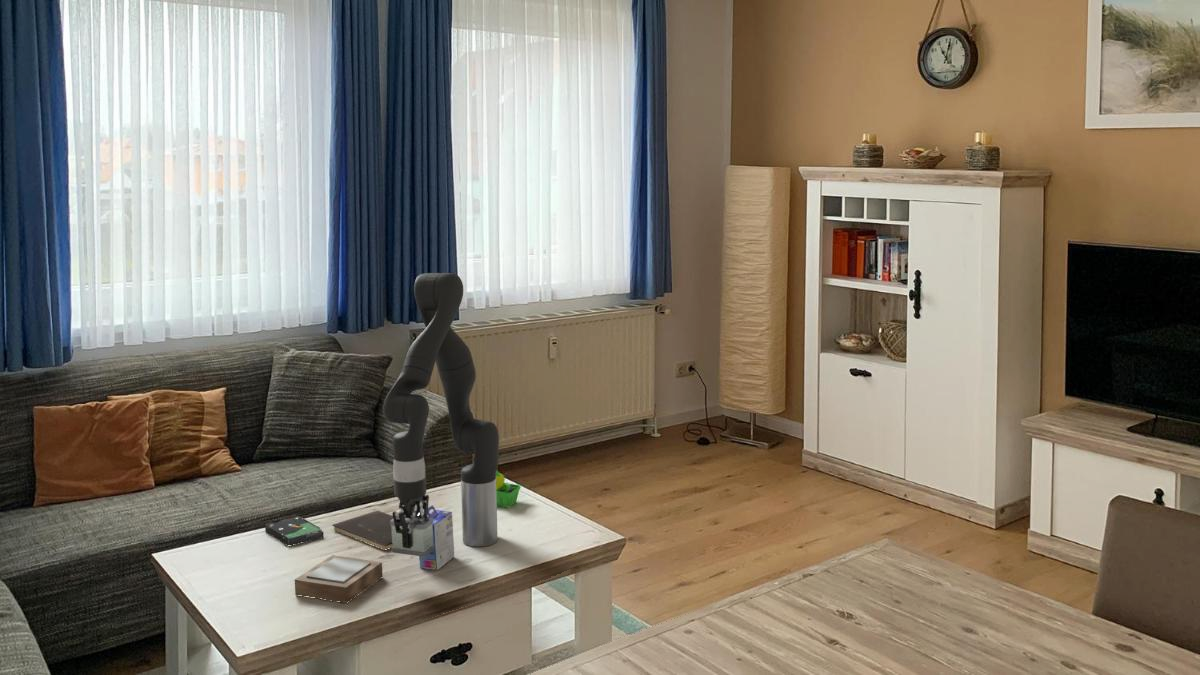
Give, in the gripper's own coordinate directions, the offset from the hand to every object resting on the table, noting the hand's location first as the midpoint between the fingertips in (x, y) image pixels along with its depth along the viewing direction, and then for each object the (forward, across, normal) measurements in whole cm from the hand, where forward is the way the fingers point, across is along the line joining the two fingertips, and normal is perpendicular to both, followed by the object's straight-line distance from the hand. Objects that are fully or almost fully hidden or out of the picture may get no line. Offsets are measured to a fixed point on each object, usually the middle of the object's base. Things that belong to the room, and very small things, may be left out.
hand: (413, 543), depth 260 cm
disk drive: (+11, +19, +47) cm, 52 cm away
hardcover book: (+11, +28, +25) cm, 39 cm away
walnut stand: (+10, -7, +16) cm, 21 cm away
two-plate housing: (+2, 0, 0) cm, 2 cm away
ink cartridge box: (+11, +14, +1) cm, 17 cm away
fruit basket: (+12, +60, +5) cm, 61 cm away
